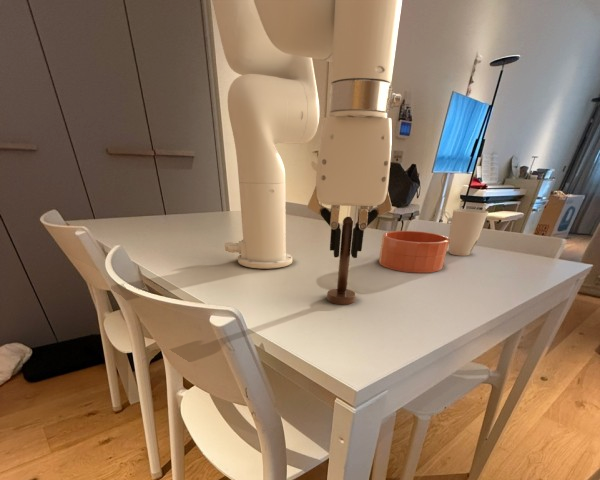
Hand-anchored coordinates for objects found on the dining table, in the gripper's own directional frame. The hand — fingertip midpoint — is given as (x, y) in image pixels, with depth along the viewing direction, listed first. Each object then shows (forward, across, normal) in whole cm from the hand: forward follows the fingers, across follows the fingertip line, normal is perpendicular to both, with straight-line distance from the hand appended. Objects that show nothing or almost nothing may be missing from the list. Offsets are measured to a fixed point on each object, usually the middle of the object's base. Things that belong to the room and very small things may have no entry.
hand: (344, 254), depth 54 cm
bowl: (+7, -18, -26) cm, 32 cm away
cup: (+8, -34, -39) cm, 52 cm away
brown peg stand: (+7, 0, 0) cm, 7 cm away
